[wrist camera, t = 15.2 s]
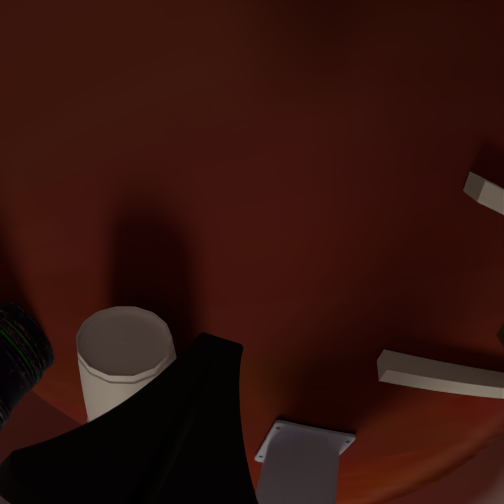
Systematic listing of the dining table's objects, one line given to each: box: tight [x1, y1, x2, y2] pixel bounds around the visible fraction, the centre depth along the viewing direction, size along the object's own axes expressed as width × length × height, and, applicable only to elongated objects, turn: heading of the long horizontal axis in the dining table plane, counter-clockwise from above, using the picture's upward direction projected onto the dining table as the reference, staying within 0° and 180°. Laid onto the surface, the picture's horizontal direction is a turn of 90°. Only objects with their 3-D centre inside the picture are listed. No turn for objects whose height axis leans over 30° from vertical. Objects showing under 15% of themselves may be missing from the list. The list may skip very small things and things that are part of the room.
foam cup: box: [76, 306, 176, 422], centre depth 22 cm, size 10×9×13 cm
